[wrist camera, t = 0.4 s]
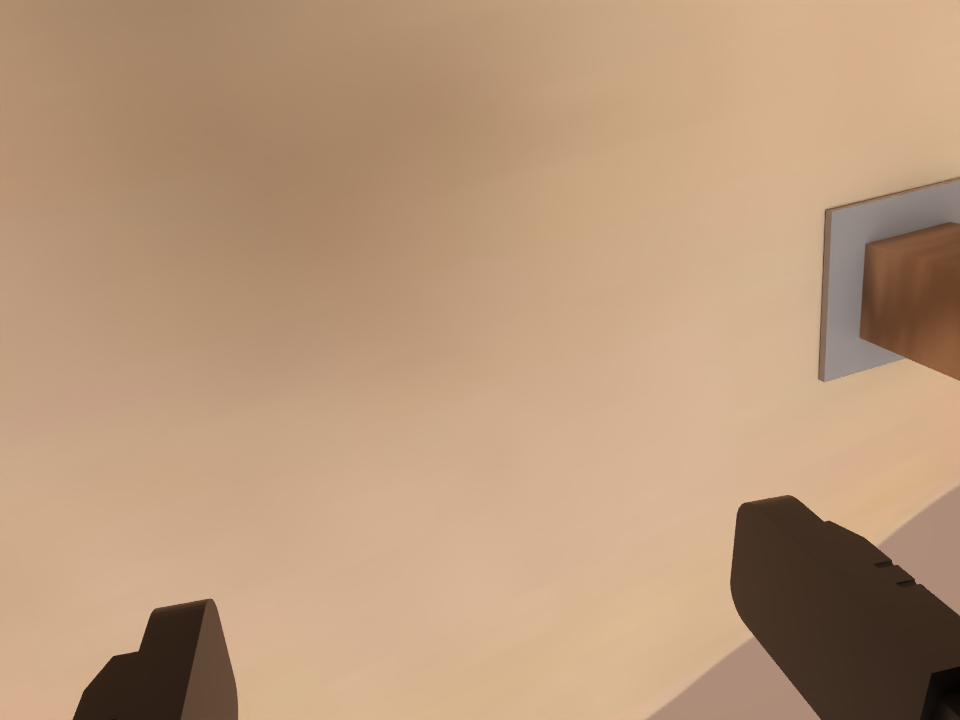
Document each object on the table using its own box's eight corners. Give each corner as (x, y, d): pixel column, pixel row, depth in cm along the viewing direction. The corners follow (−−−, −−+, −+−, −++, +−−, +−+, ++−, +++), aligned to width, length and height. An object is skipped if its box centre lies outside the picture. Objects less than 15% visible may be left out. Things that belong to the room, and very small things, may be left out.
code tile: (825, 210, 33) (831, 211, 33) (980, 172, 35) (988, 173, 34) (818, 379, 36) (824, 382, 36) (959, 337, 38) (966, 340, 38)
